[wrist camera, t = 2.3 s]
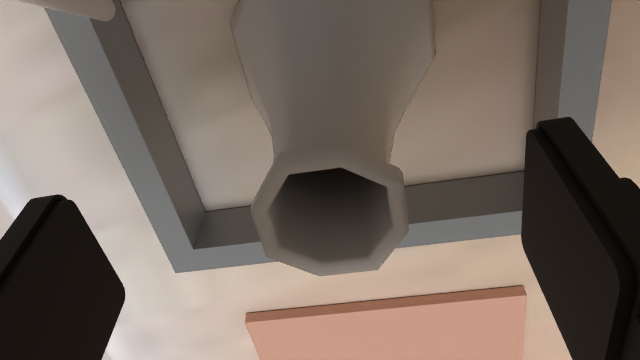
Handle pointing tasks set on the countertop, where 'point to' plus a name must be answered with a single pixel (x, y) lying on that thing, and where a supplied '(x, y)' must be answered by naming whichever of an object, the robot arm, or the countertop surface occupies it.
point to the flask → (332, 123)
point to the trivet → (398, 328)
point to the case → (237, 223)
